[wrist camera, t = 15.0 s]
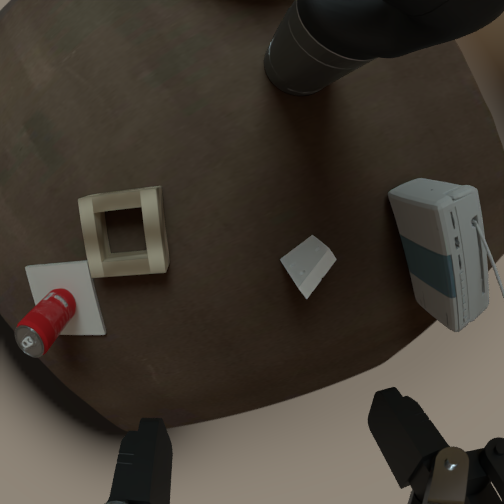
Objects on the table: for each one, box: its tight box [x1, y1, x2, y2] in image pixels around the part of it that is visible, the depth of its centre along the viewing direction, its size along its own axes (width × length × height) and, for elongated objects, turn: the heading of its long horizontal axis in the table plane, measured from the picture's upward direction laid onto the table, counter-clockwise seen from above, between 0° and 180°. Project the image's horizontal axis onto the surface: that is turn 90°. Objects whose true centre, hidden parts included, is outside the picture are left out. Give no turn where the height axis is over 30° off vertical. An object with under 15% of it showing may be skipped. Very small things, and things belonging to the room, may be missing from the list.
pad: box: [25, 260, 107, 335], centre depth 41 cm, size 12×12×1 cm
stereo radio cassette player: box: [388, 178, 504, 332], centre depth 36 cm, size 21×8×20 cm, turn 26°
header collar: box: [78, 186, 170, 278], centre depth 37 cm, size 10×10×4 cm
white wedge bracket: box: [280, 235, 336, 299], centre depth 40 cm, size 4×10×9 cm, turn 127°
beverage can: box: [15, 288, 76, 357], centre depth 34 cm, size 5×5×12 cm
